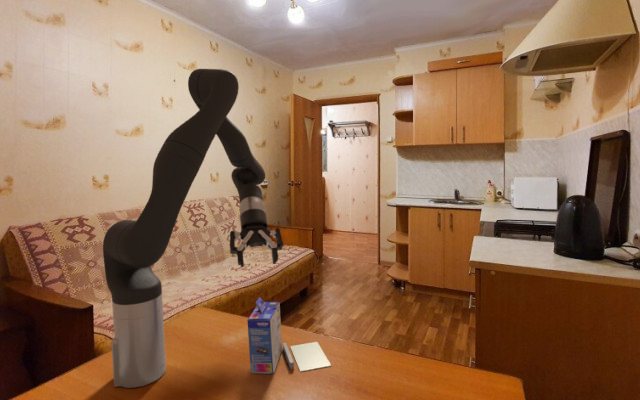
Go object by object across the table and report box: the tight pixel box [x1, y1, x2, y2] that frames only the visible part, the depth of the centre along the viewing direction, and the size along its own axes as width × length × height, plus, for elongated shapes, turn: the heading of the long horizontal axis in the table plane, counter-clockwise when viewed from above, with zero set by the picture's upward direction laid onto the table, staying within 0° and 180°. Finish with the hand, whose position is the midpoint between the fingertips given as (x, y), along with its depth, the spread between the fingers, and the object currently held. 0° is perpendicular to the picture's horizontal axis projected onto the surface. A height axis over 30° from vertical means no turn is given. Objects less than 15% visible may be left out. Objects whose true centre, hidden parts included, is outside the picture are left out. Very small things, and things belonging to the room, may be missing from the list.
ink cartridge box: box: [247, 297, 283, 375], centre depth 76 cm, size 10×6×14 cm, turn 176°
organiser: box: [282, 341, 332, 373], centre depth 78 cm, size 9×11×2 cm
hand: (258, 264), depth 89 cm, fingers open, 8 cm apart
